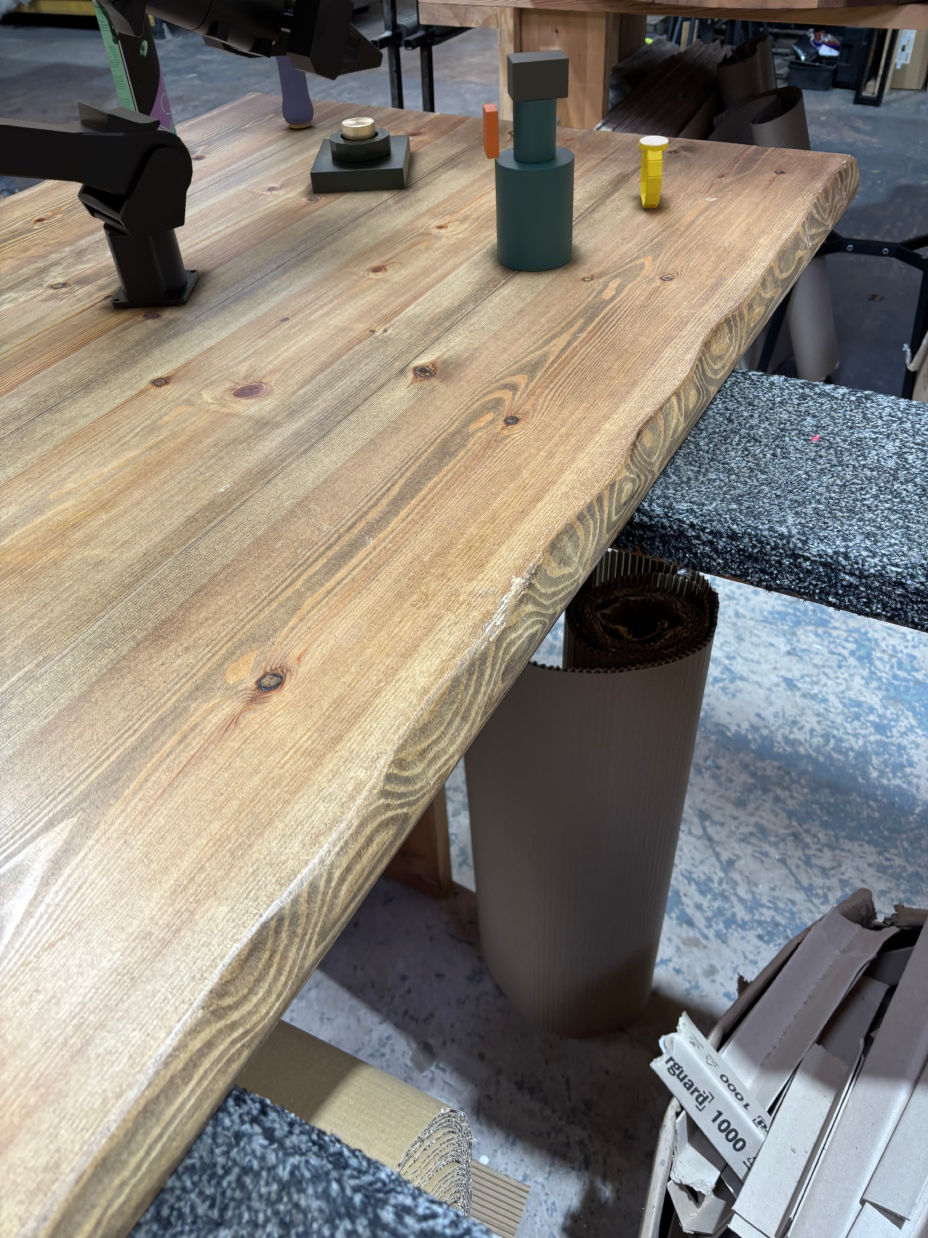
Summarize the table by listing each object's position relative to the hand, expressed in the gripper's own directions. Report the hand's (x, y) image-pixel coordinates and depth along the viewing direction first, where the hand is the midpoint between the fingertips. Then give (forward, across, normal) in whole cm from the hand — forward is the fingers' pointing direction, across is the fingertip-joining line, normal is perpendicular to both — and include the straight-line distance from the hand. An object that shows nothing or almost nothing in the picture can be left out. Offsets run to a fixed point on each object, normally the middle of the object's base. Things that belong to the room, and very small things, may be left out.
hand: (350, 52), depth 85 cm
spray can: (+2, +36, +15) cm, 40 cm away
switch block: (+14, +12, +10) cm, 20 cm away
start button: (+12, +12, +6) cm, 18 cm away
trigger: (+3, -18, +5) cm, 19 cm away
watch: (+25, -19, +4) cm, 32 cm away
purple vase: (+19, +33, +7) cm, 39 cm away
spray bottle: (+10, -20, +11) cm, 25 cm away
